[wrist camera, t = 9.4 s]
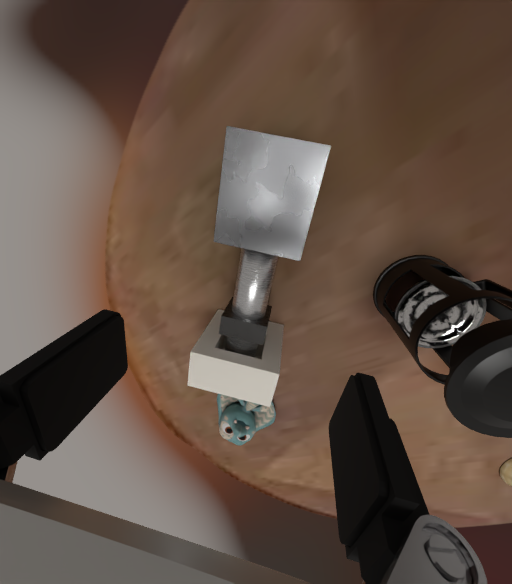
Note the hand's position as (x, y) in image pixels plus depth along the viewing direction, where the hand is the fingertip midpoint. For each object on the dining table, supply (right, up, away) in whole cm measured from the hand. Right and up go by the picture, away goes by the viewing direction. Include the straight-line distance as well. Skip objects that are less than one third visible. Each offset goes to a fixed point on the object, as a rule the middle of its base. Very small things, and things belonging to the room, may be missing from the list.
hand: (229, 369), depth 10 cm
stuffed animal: (0, -16, +33) cm, 37 cm away
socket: (0, -3, +27) cm, 28 cm away
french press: (+21, +4, +21) cm, 31 cm away
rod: (+1, +4, +21) cm, 21 cm away
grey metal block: (+3, +15, +19) cm, 25 cm away
